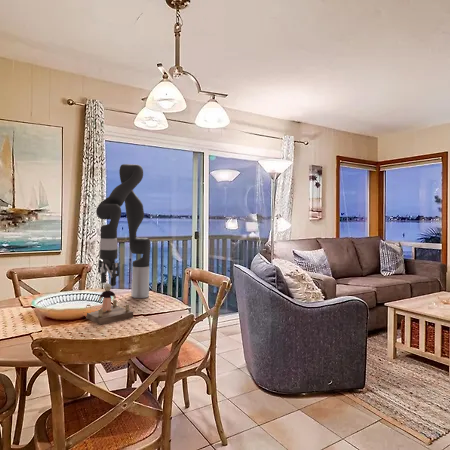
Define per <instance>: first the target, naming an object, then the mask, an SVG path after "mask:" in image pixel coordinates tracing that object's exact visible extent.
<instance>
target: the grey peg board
mask: <svg viewBox="0 0 450 450" xmlns="http://www.w3.org/2000/svg"><path fill="white" fill-rule="evenodd" d="M117 302H118V301H117V299H113V300H112V305H111V310H112V311H110V312H107V310H106V312H102V307H100V308H101V309H100V310H98V311H95V312H91V313H87V316H86V318H85V319H87V320H89V321H91V322H93V323H96V324H97V325H99V326H100V325H104V324H105V325H106V324H109V323H114V322H118V321H123V320H127V319H131V318H132V319H133V318H134V311H133V310H131V309H130V303H128V304H125V308H124V307H121V306H119V305H117ZM87 306H90V307H91V304H86V307H87Z"/></svg>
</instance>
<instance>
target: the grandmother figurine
mask: <svg viewBox="0 0 450 450" xmlns="http://www.w3.org/2000/svg"><path fill="white" fill-rule="evenodd" d="M112 287H113V286H111V283H107V282H106V283H104V285H103V288H104V291H102V293H101V294H100V295H99V298H98V301H100V302H101V300H102V304H101V308H102V312H106V310H107V312H110V311H112V310H111V306H112V298H113V300H116V299H117V297H116V293H115V292H113V291H112V290H111V289H112ZM102 298H103V299H102Z"/></svg>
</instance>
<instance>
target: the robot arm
mask: <svg viewBox="0 0 450 450" xmlns="http://www.w3.org/2000/svg"><path fill="white" fill-rule="evenodd" d="M118 171H119V174H118V175H119V179H120V180H119V181H120V184H118V185H117V186H116V187H114V188H113V189H112V191H111V192H110V194H109V196H108V197H106V198H105V199H103V201H101V202H100V203H99V204H98V205H97V207H96V211H95V213H96V216H97V218H98V219H101V220H109V223H108V224H103V225H101V226H100V234H99V235H100V238H99V239H100V240H99V260H98V263H97V264H98V265H97V266H98V269H97V271H98V273H99V274H100V282H101V284H107V273H108V274H109V276H110V285H111V286H112V287H114V286H117V277H120V263H119V262H116V261H115V260H117V259H118V227H119V223H120V219H121V216H122V208H121V207H122V206H123V204H124V205H125V213H126V220H127V228H128V240H129V241H128V242H129V250H130V252H131V254H134V255H142V256H141V257H140V258H138V259H135V260H133V261H132V272H131V273H132V276H131V278H132V279H131V297H132V298H134V299H145V298H148V297H150V262H151V261H150V260H151V258H150V257H151V240H150V238H148V237H137V232H138V230H139V227H140V225H141V224H142V222H143V220H144V218H145V211H144V204H143V202H142V201H141V199H140V198H139V196H137V194H136V193H135V192H134V189H135V188H136V187H137V186H138V185H139V183H141V181H142V180H143V178H144V168H143V166H141V164H140V165H139V164H134V163H133V164H131V163H123V164H121V165H120V167H119V170H118Z"/></svg>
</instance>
